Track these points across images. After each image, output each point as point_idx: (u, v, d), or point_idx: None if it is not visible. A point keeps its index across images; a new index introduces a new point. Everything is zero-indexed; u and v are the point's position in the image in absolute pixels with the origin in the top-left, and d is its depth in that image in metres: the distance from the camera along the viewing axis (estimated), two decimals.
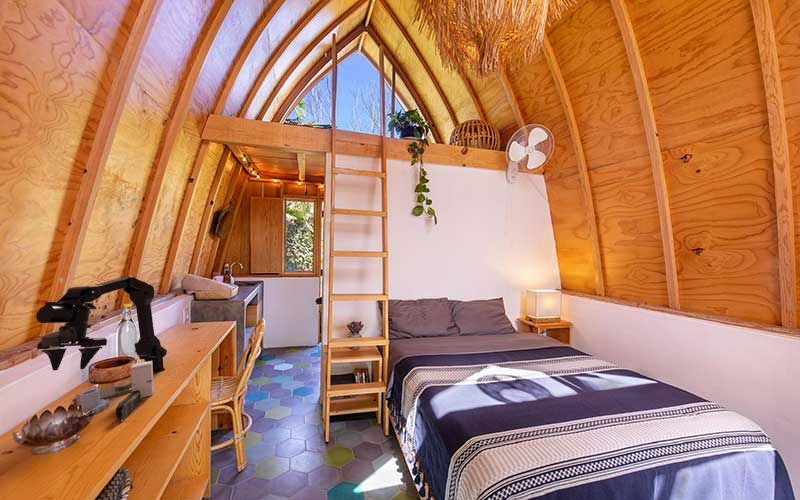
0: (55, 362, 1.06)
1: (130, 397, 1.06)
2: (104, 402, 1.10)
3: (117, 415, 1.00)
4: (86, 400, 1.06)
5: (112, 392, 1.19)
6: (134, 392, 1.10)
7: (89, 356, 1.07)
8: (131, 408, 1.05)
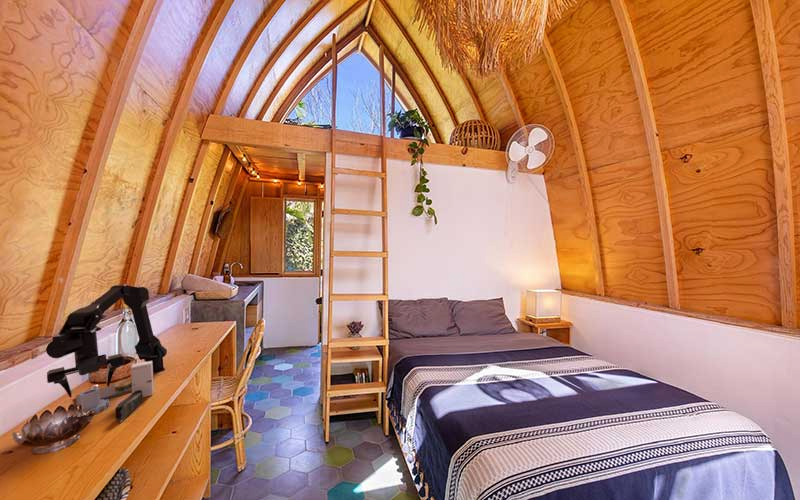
0: None
1: (131, 397, 1.06)
2: (104, 402, 1.10)
3: (116, 415, 1.00)
4: (86, 400, 1.06)
5: (112, 392, 1.19)
6: (136, 392, 1.10)
7: None
8: (131, 408, 1.05)
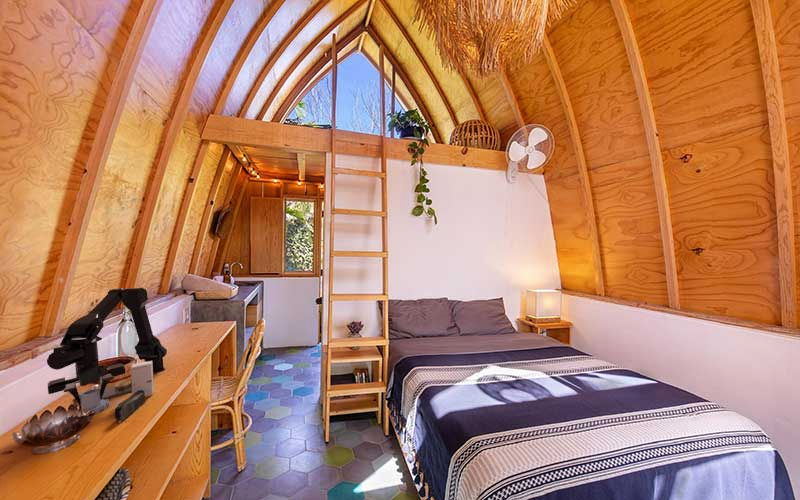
0: (79, 397, 1.06)
1: (131, 398, 1.06)
2: (104, 402, 1.10)
3: (116, 416, 1.00)
4: (86, 400, 1.06)
5: (112, 392, 1.19)
6: (137, 392, 1.10)
7: None
8: (131, 409, 1.04)
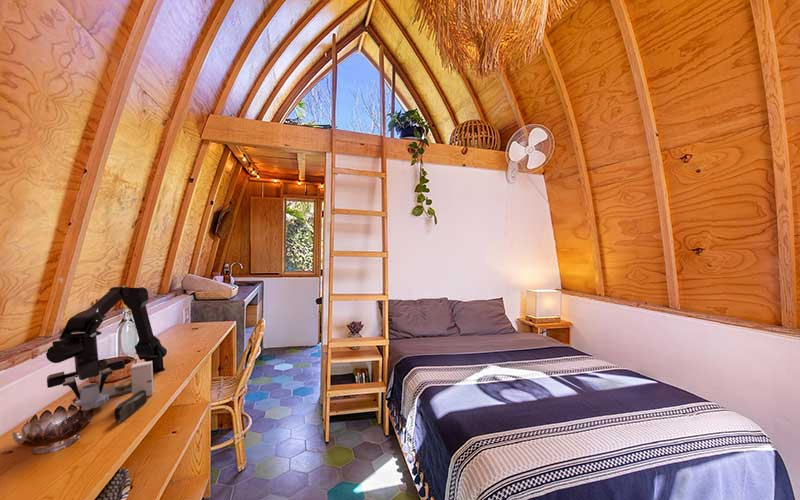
0: (78, 391, 1.06)
1: (132, 398, 1.06)
2: (103, 396, 1.10)
3: (115, 416, 0.99)
4: (85, 394, 1.06)
5: (112, 392, 1.19)
6: (139, 392, 1.10)
7: None
8: (131, 409, 1.04)
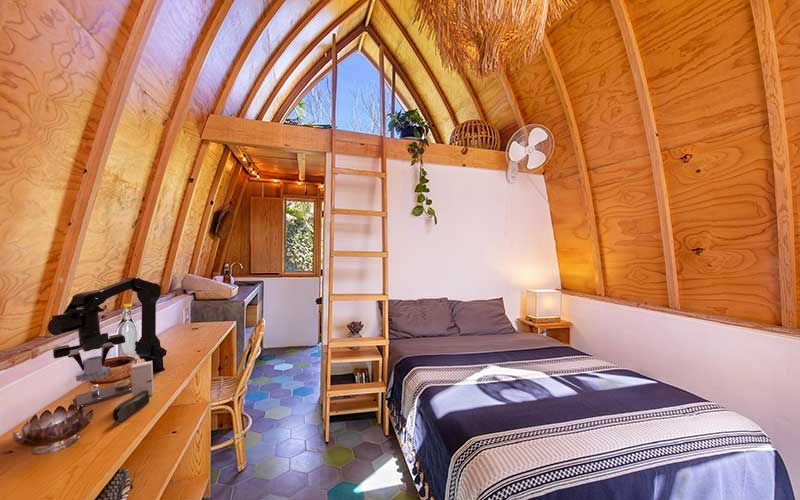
0: (82, 363, 1.14)
1: (133, 398, 1.05)
2: (106, 369, 1.18)
3: (113, 417, 0.99)
4: (89, 366, 1.14)
5: (112, 392, 1.19)
6: (141, 392, 1.10)
7: None
8: (131, 410, 1.03)
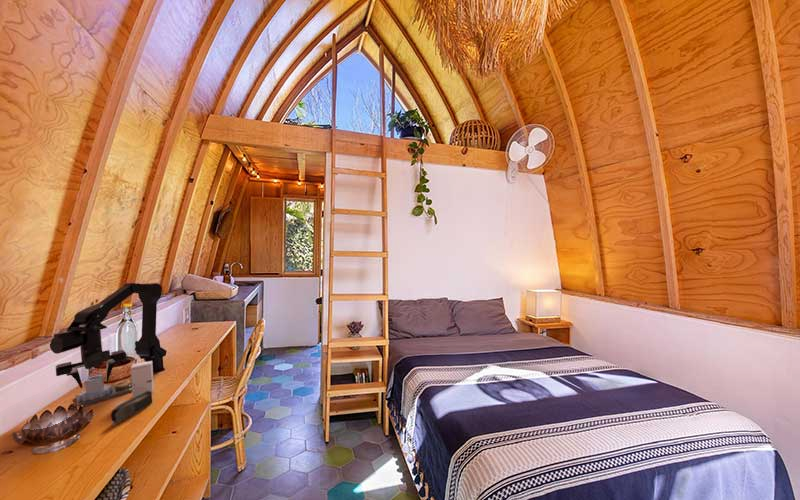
0: None
1: (133, 399, 1.05)
2: (107, 387, 1.20)
3: (112, 418, 0.98)
4: (91, 385, 1.15)
5: (112, 392, 1.19)
6: (143, 393, 1.09)
7: None
8: (130, 411, 1.03)
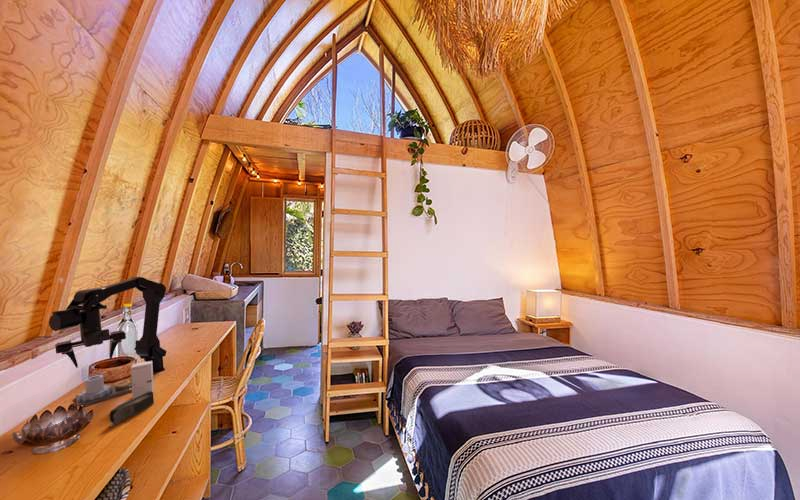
0: None
1: (133, 400, 1.04)
2: (107, 387, 1.20)
3: (110, 419, 0.98)
4: (91, 385, 1.15)
5: (112, 392, 1.19)
6: (144, 394, 1.09)
7: None
8: (130, 412, 1.02)
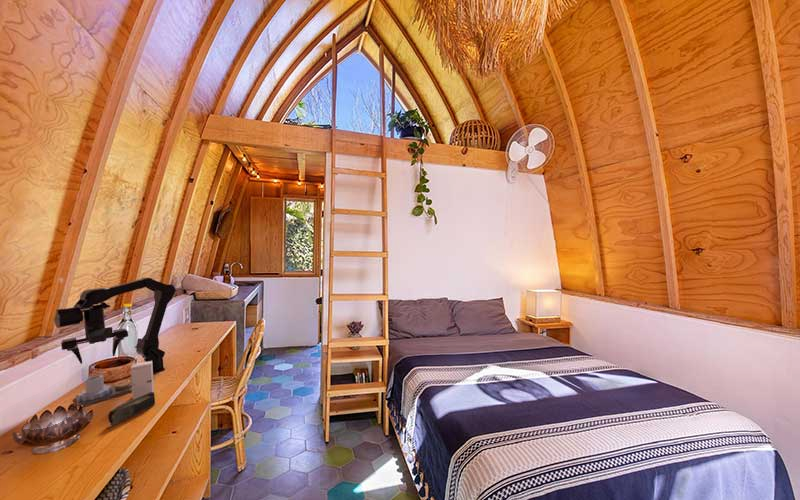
0: None
1: (133, 401, 1.04)
2: (107, 387, 1.20)
3: (109, 419, 0.98)
4: (91, 385, 1.15)
5: (112, 392, 1.19)
6: (145, 395, 1.08)
7: None
8: (129, 413, 1.02)
